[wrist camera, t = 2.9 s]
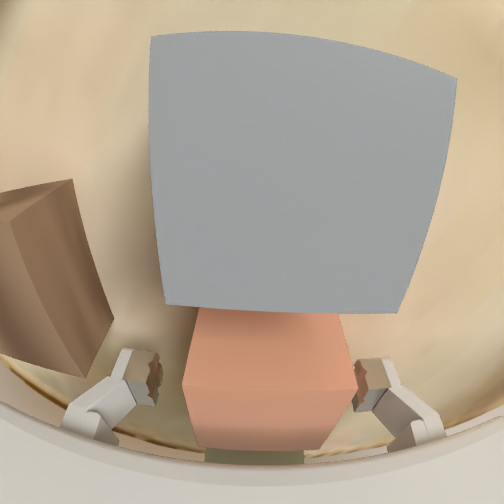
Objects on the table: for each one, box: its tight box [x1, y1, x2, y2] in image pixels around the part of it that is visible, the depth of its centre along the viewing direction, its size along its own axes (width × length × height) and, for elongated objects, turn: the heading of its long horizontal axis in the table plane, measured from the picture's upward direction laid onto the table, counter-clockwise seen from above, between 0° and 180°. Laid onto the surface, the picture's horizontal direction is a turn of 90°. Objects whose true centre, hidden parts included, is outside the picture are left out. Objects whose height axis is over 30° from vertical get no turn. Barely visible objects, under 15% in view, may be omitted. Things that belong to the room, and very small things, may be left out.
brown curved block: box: [0, 179, 114, 378], centre depth 10 cm, size 7×7×4 cm
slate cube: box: [149, 31, 457, 314], centre depth 7 cm, size 5×5×5 cm
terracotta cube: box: [182, 307, 358, 451], centre depth 11 cm, size 5×5×5 cm
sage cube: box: [204, 448, 304, 465], centre depth 15 cm, size 5×5×5 cm
